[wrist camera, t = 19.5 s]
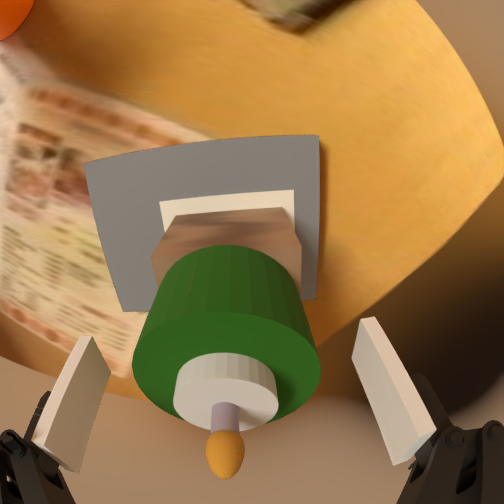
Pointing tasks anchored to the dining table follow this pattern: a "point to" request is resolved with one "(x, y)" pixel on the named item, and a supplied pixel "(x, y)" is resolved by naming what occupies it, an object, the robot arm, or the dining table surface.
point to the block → (231, 237)
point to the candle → (227, 347)
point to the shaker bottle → (13, 15)
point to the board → (200, 200)
